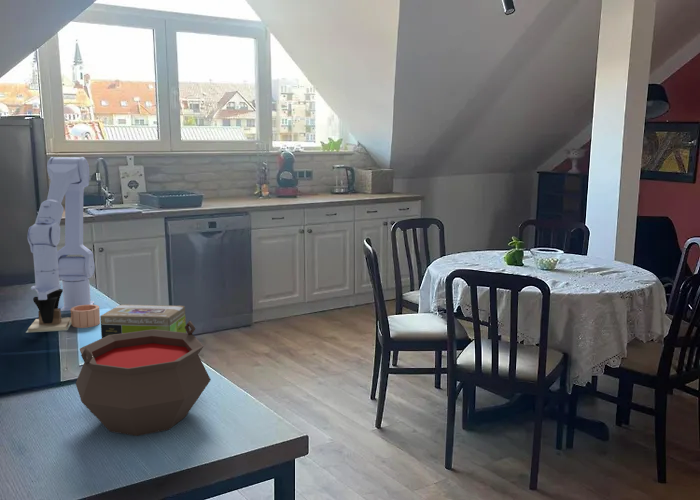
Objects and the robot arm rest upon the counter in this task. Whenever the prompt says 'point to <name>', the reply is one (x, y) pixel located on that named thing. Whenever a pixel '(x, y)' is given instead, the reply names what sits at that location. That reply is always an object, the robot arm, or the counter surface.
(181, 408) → the brown cauldron
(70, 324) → the mat
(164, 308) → the tea box
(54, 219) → the robot arm
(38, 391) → the counter surface
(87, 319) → the cup
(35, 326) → the lid
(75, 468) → the counter surface
